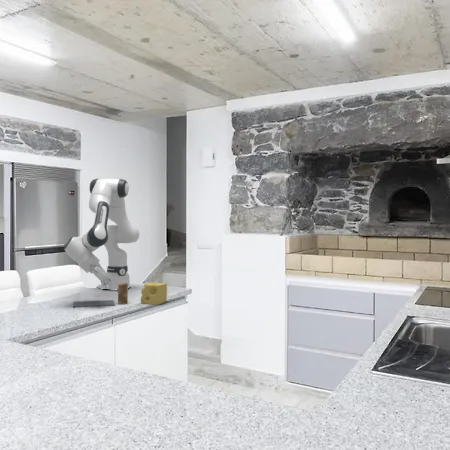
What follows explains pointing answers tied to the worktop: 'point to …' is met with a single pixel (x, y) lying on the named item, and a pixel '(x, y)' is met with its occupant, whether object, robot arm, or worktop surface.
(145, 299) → the cheese
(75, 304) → the slate mat
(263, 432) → the worktop surface
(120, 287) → the walnut block
